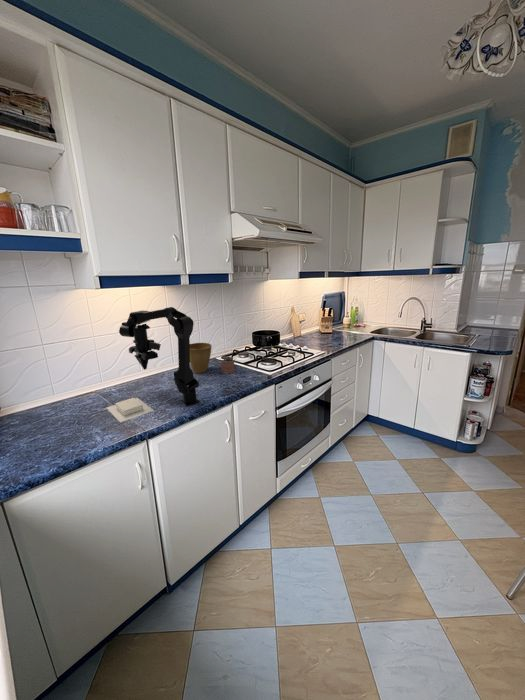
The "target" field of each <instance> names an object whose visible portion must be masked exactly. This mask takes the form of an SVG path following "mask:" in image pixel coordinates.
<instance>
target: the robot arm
mask: <svg viewBox="0 0 525 700" xmlns="http://www.w3.org/2000/svg"><path fill="white" fill-rule="evenodd" d="M127 318H128V319H127V320H126V322H125V321H124V322H121V325H120V326H119V329H118V332H119V335H120V336H122V337H127V338H134V339H133V340H132V342H133V343H134V346H133V345H132V346H130V347H129V348H128V353H129V354H133V353H135V354H134V357H135V359H136V361H138V363H139V364H140V366H141V367H142V369H143V370H147V368H148V364H149V360H153V359H158V358H159V355H158V352H156V351H160V349H161V345H162V344H161V343H158V342H155V340H154V339H150V338H149V337H148V332H147V330H149V329H151V327H150V326H149V325H148V324H147V322H150V321H151V320H155V319H162V318H163V319H164V318H165V319H167V322H168V323H169V325H170V326H172V327H173V332H174V333H175V335H176V337H177V353H178V354H177V355H178V369H177V370H175V371H174V372H173V378H174V379H173V381H174V384H175V386H176V388H177V390H178V393H181V395H182V397H183V399H181V400H180V402H181V403H183V404H185V406H186V407H189V406H191V405H195V404H197V403H200V400H199V399H198V398H197V391H196V389H197V388H198V387H199V385H200V383H199V381H198V380H197V378H195V377H194V371H193V369H192V367H191V364H190V344H191V342H190V341H191V339H190V338H191V335H192V333H193V331H194V325H195V324H194V323H195V322H194V319H192V318H191V317H190V316H188V315H187V314H186V313H184V312H181V311H179V310H177V309H176V308H175V307H172V306H170V307H169V306H168V307H164V308H162V309H156V310H150V311H149V310H138V311H133V312H129V315H128V317H127ZM148 338H149V339H148ZM154 350H156V351H154Z"/></svg>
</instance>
